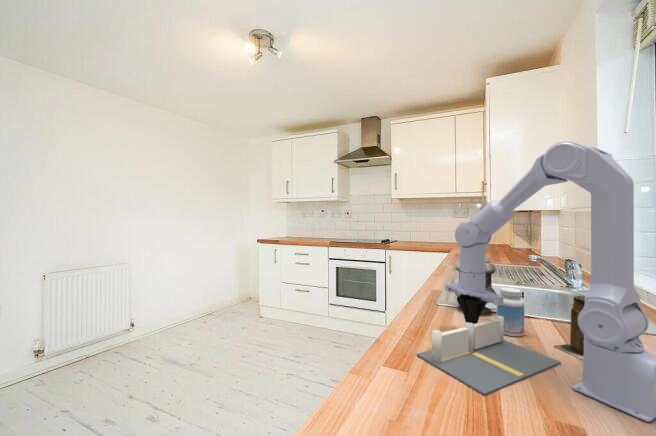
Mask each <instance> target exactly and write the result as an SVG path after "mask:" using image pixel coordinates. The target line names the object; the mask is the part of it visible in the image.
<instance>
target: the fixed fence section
mask: <svg viewBox="0 0 656 436" xmlns="http://www.w3.org/2000/svg"><path fill="white" fill-rule="evenodd" d="M431 331H432V332H431V350H432V361H433V362H435V363H441V361H442V360H446V359H449V358H452V357H456V356H459V355H462V354H466V353H468V352H471V353H473V352H474V324H473V323H469V322H464V326H463V327H459V328H455V329H451V330H447V331H443V332H442V331H441V330H439V329H432V330H431Z"/></svg>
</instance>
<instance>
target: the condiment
mask: <svg viewBox="0 0 656 436" xmlns="http://www.w3.org/2000/svg"><path fill="white" fill-rule="evenodd" d="M584 305H585V296H583V295H582V296H578V295H577V296H574V297H573V304H572V308H571V309H570V334H569V335H570V342H569V344H565V343H563V344H555V345H552V346H553V347H555V348H557V349H559V350H560V351H562V352H565V353H568V354H569V355H571V356H573V357H576V358H578V359H580V360H583V361H584V334H583V333H582V331H581V330H580V328H579V325H578V315H579V313H580V312H581V311H582V309H583V308H584Z"/></svg>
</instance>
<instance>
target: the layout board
mask: <svg viewBox="0 0 656 436" xmlns="http://www.w3.org/2000/svg"><path fill="white" fill-rule="evenodd" d="M416 356H417V357H418V358H419V359H421V360H423V361H425V362H426V363H428V364H430V365H431V366H433V367H435V368H436V369H438V370H440V371H441V372H444V373H445V374H446V375H448V376H450V377H451V378H454V379H455V380H457V381H459V382H460V383H461V384H463V385H465V386H467V387H469V388H470V389H472V390H473V391H476V392H477V393H478V394H480V395H482V396H487V395H490V394H493V393H494V392H497V391H499V390H502V389H504V388H507V387H508V386H511V385H514V384H516V383H519V382H520V381H523V380H525V379H528V378H530V377H533V376H535V375H538V374H540V373H542V372H544V371H548V370H549V369H552V368H554V367H556V366H559V365H561V364H562V362H561V361H559V360H557V359H555V358H552V357H550V356H547V355H544V354H542V353H539V352H536V351H533V350H531V349H528V348H526V347H524V346H521V345H518V344H516V343H513V342H511V341H507V340H505V339H503V342H498V343H495V344H491V345H488V346H484V347H481V348H478V349H474V352H473V353H471V352H468V353H466V354H462V355H459V356H456V357H452V358H449V359H446V360H442V361H441V363H435V362H433V361H432V349H429V350H427V351H422V352H419V353H416Z"/></svg>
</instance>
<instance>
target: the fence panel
mask: <svg viewBox="0 0 656 436" xmlns="http://www.w3.org/2000/svg"><path fill="white" fill-rule="evenodd" d="M503 332H504V317H502V316H497V315H495V316H494V319H490V320H485V321H481V322H478V323H476V324H474V349H478V348H481V347H484V346H488V345H491V344H495V343H498V342H503V340H504V334H503Z"/></svg>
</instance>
